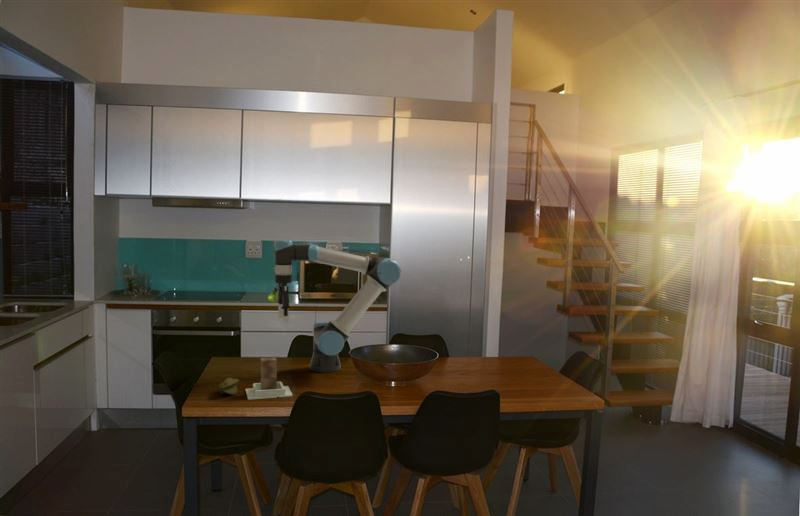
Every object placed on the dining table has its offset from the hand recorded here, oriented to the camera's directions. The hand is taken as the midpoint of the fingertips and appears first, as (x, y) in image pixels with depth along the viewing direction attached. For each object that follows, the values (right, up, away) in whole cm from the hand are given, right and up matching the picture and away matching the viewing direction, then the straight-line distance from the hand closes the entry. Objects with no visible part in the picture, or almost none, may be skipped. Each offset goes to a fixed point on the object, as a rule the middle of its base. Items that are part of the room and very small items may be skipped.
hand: (283, 320), depth 281 cm
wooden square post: (-2, -28, -23) cm, 36 cm away
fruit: (-19, -28, -24) cm, 41 cm away
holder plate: (-2, -28, -23) cm, 36 cm away
